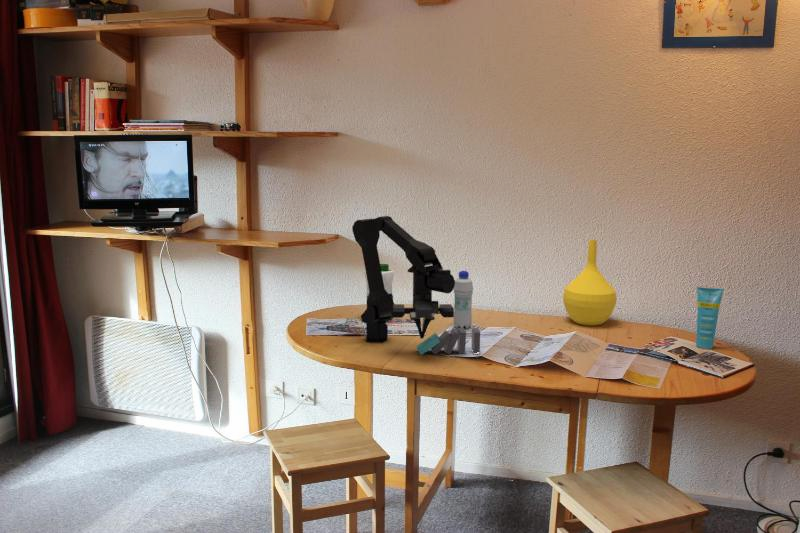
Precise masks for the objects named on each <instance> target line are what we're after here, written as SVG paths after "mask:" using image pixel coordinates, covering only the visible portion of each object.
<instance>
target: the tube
mask: <svg viewBox="0 0 800 533" xmlns="http://www.w3.org/2000/svg"><path fill="white" fill-rule="evenodd" d="M696 293H697V318H696V319H697V320H696V344H695V346H696V347H698V348H700V349H705V350H706V349H707V350H709V349H714V342H715V336H716V330H717V325H718V318H719V312H720V307H721V302H722V298H723V293H724V288H719V287H718V288H716V287H714V288H713V287H702V286H697V287H696Z"/></svg>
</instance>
